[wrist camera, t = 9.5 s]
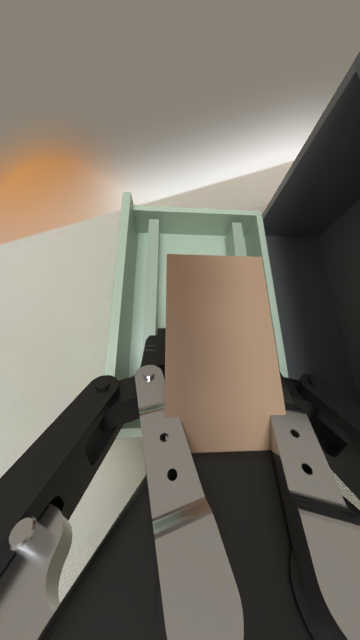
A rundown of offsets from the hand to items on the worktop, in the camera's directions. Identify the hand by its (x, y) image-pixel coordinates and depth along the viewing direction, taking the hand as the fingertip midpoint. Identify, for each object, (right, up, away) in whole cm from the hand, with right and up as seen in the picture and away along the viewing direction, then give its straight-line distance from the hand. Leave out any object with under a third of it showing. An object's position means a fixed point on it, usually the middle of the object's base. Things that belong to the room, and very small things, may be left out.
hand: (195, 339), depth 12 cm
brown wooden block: (0, -2, +4) cm, 4 cm away
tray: (0, +2, +6) cm, 7 cm away
